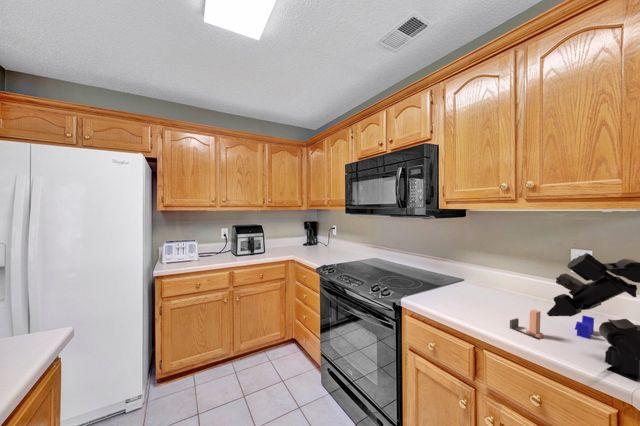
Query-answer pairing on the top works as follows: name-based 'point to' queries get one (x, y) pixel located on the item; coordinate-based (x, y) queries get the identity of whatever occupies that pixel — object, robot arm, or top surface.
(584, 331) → the cable clip
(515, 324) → the grey block holder
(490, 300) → the top surface
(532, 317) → the block
